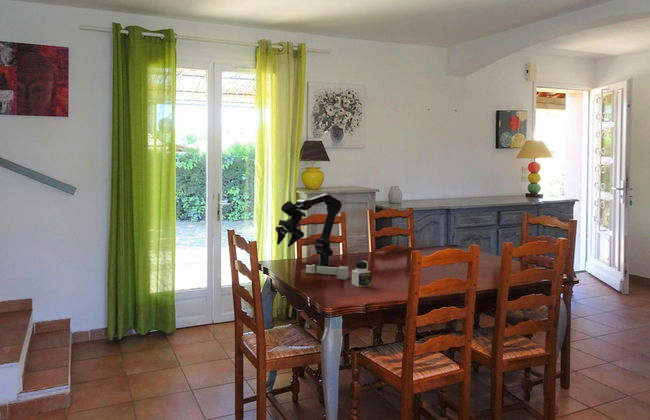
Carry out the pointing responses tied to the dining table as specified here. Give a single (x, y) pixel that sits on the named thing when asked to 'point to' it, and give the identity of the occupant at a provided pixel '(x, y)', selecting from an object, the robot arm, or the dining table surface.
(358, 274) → the medicine bottle
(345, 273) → the grey cube block
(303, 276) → the dining table surface
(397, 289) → the dining table surface
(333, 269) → the pale green curved bar
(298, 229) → the robot arm
